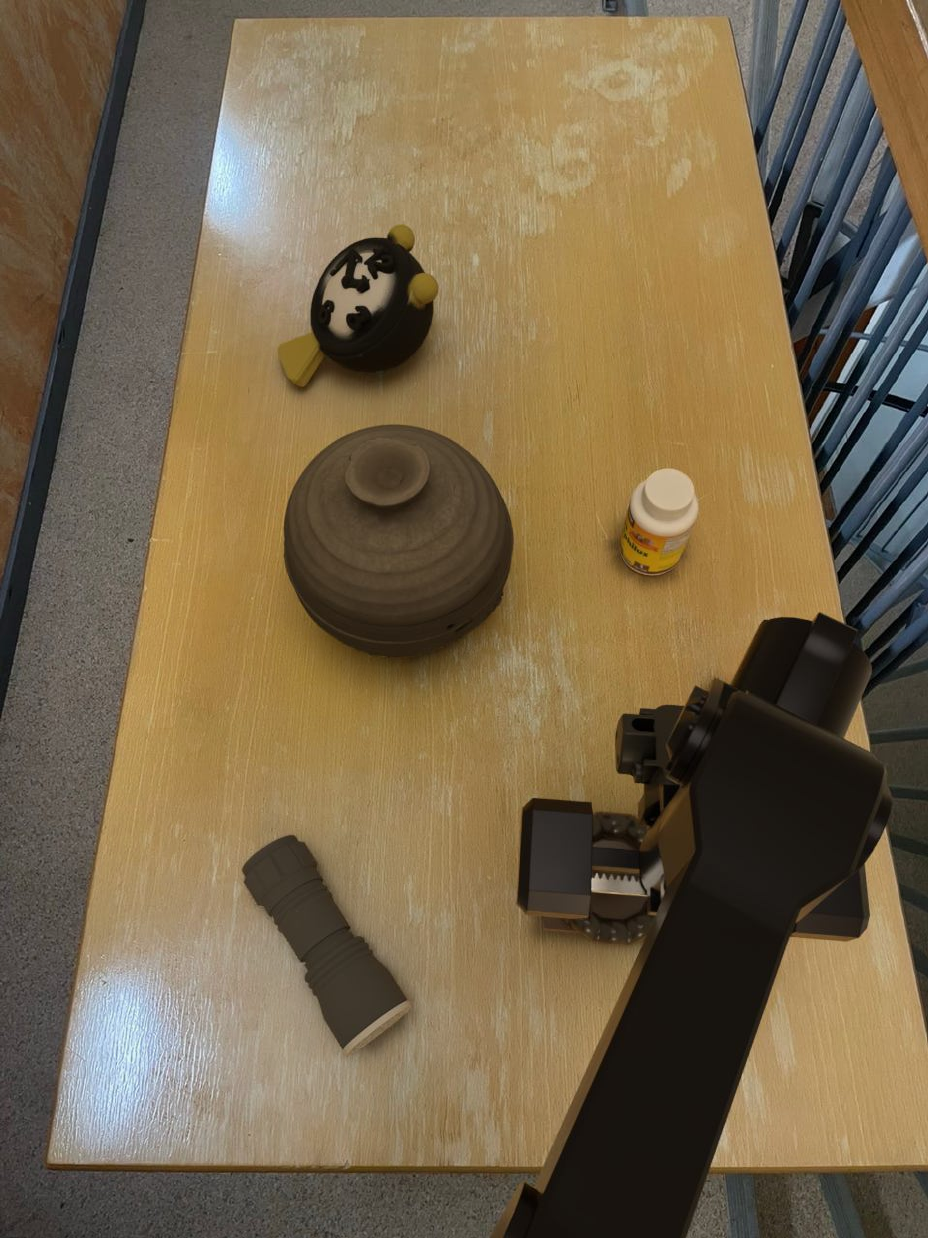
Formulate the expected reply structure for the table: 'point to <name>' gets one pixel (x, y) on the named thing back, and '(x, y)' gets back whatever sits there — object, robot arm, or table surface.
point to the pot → (397, 541)
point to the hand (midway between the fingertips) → (660, 892)
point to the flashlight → (325, 944)
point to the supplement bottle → (658, 522)
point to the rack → (605, 902)
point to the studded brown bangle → (608, 928)
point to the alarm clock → (366, 309)
